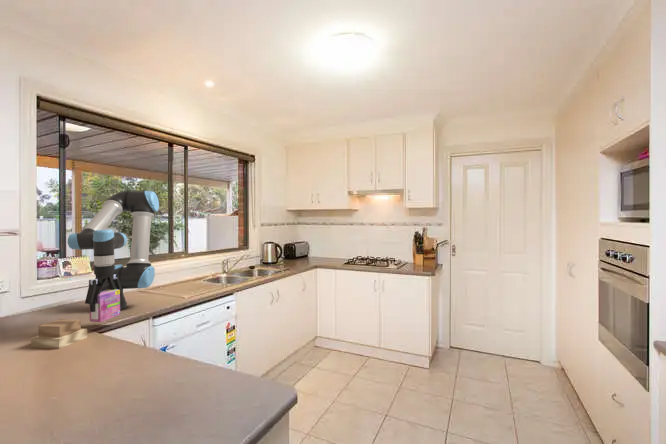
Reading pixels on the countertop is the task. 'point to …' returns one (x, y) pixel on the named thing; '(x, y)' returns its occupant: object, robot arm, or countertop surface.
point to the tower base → (58, 340)
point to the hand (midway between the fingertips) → (105, 314)
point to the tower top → (59, 328)
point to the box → (107, 305)
